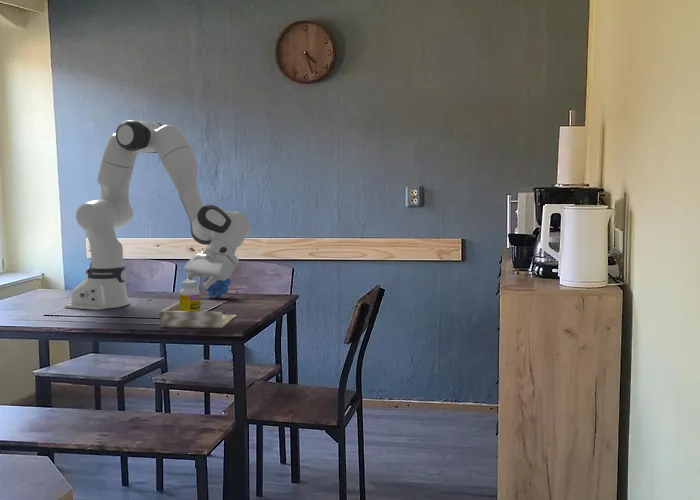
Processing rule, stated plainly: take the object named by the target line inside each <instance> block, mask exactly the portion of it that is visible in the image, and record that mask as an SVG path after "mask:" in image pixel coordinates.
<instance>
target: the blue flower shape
mask: <svg viewBox="0 0 700 500" xmlns="http://www.w3.org/2000/svg"><path fill="white" fill-rule="evenodd" d="M208 279H210V278H204V277H203V281H204V282H206V281H207V280H208ZM204 282H203V283H204ZM231 284H232V280H231V279H230V278H228V279H226V280H224V281H221V280H217V281H216V282H215V283H213V284H212V285H210V287H209V288H208V289H204V288H203V290H204V291H205V292H207V296H208V297H209V298H212V297H215V298H216V299H219V298H221V297H222V295H226V294H227V293H228V291H229V287H230V285H231Z"/></svg>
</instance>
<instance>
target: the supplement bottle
mask: <svg viewBox="0 0 700 500" xmlns="http://www.w3.org/2000/svg"><path fill="white" fill-rule="evenodd" d="M197 283H198V282H197V280H193V279H192V280H188V281H186V280H183V281H181V284H182V285H181V286H182V289H180V290H179V295H178V296H179V297H178V298H179V299H178V301H180V311H201V290H200V289H199V288H197V285H198V284H197Z"/></svg>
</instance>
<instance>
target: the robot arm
mask: <svg viewBox="0 0 700 500" xmlns="http://www.w3.org/2000/svg"><path fill="white" fill-rule="evenodd" d="M191 147H192V146H191V145H190V144H189V142H188V140H187V138H186V137H185V136H184V135H183V132H182V131H180V129H179V127H177V126H175V125H174V124H161V123H158V122H153V121H150V120H135V119H130V120H124V121H122V122H121V123H120V124H119V125H118V126H117V128H116V130H115V132H114V133H113V134H111V136H110V137H109V139H108V141H107V144H106V146H105V149H104V151H103V154H102V158H101V164H100V166H99V170H98V174H97V183H98V184H99V185H100V192H101V193H100V195H101V196H100V199H93V200H88V201H86V202H84V203H82V204H80V205H79V207H77V210H76V213H75V219H76V222H77V224H78V225H79V226H80V228H81V229H82V230H83V231H84V233H85V235H86V238H87V240H88V243H89V247H90V258H91V259H90V260H91V261H90V262H91V267H90V268H88V269H87V270H85V273H84V274H85V275H86V274H87V278H85V279H84V280H83V281H82V282H80V283H79V284H78V285H76V287H74V289H73V290H72V291H71V298H70V299H71V300H70V301H68V302H66V303H65V306H64V307H65V308H66V309H68V308H69V309H81V310H82V309H84V310H93V311H94V310H97V311H98V310H106V309H114V308H120V307H124V306H125V307H126V306H128V305H130V300H129V297H128V292H127V288H126V283H125V282H126V268H125V265H124V251H123V250H124V247H123V244H122V243H121V242H120V240H118V237H117V236H116V235H117V234H116V231H115V229H117V228H121V227H123V226H125V225H127V224H128V223H130V221H131V220H132V218H133V214H134V212H133V208H132V205H131V204H130V198H129V197H130V195H129V191H130V184H131V179H132V175H133V171H134V167H135V163H136V159H137V156H138V155H139V154H140V153H142V154H150V153H151V154H157V155H158V157H159V159H160V161H161V163H162V165H163V167H164V169H165V170H166V173H167V174H168V176H169V178H170V179H171V181H172V184H173V186H174V187H175V189H176V192H177V193H178V195H179V198H180V200H181V203H182V204H183V207H184V210H185V212H186V213H187V216H188V218H189V219H188V220H189V222H190V233H191V234H190V235H191V237H192V238H193V240H194V241H195V242H197V243H198V244H200V245H204V246H206V245H207V246H206V248H205V249H204V251H200V252H199V253H195V254H193V256H192V257H191V258H190V259H189V260H188V261H187V263H185V265H184V267H183V271H185V272H186V274H187V276H186V279H185V281H188V280H193V279H194V278H195V277H200V278H203V279H204V278H210V279H208V280H207V281H206V282H203V283H202V285H201V288H203V290H204V289H208V288H209V287H210V285H212V284H213V283H215V282H216V281H217V280H221V281H224V280H226V279H229V277H230V276H231V275H232V273H233V272H234V270H236V269H235V268H236V266H238V265H239V263H240V260H239V259H238V257H237V256H236V251H237V249H238V248H239V247H240V246H241V245H242V244H243V242H244V241H245V239H246V238H247V236H248V235H249V233H250V230H251V223H250V221H249V219H248V218H247V216H246V215H245V214H244V213H243V212H241V211H228V210H225V209H222V208H220V207H218V206H217V205H213V204H206V205H204V203H203V201H202V198H201V197H200V195H199V192H198V185H197V181H198V180H197V179H198V171H199V170H198V169H199V168H198V166H199V165H198V162H197V159H196V156H195V153H194V151H193V149H192V148H191Z"/></svg>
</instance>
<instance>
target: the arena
mask: <svg viewBox="0 0 700 500" xmlns="http://www.w3.org/2000/svg"><path fill="white" fill-rule="evenodd" d="M236 317H237V314H223V311H205V310H204V311H201V310H200V311H180V300H178V301H176V302H175V303H172V304H170V305H169V306H166V307H165V308H164V309H162V310H160V311H159V327H160V328H180V329H181V328H183V329H185V328H187V329H188V328H189V329H190V328H191V329H222V328H224V327H225V326H226V325H228V323H230V322H231V321H232V320H234V319H235V318H236Z"/></svg>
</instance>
